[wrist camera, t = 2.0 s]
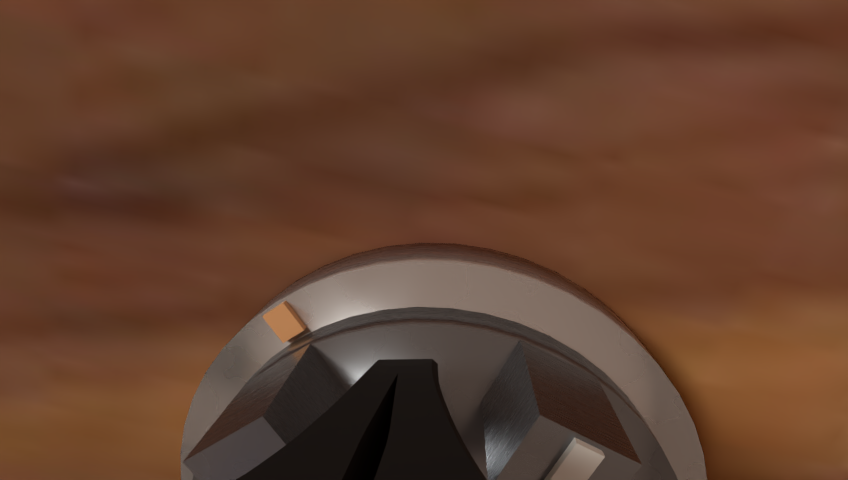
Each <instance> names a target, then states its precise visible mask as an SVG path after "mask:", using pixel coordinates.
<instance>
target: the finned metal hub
mask: <svg viewBox="0 0 848 480" xmlns="http://www.w3.org/2000/svg"><path fill="white" fill-rule="evenodd" d="M385 359H433V360H434V361H435V362H436V363H438V377H439V384H440V388H441V392H442V395H443V397H444V400H445V403H446V405H447V408H448V410H449V413H450V415H451V417H452V420H453V422H454V424H455V426H456V428H457V430H458V432H459V434H460V436H461V438H462V440H463V442H464V444H465V445H466V447H467V449H468V451H469V452H470V454H471V456H472V457H473V459H474V461H475V462H476V464H477V465H478V467H479V469H480V470H481V472H482V473H483V475H484V476H485V478H486V479H487V480H678V479H677V476H676V474H675V472H674V470H673V468H672V467H671V465H670V463H669V461H668V459H667V457H666V455H665V453H664V451H663V449H662V448H661V446H660V444H659V442H658V441H657V439H656V437H655V436H654V434H653V432H652V431H651V429H650V427H649V426H648V424H647V422H646V421H645V419H644V418H643V416H642V415H641V414H640V412H639V411H638V410H637V408H636V407H635V406H634V404H633V403H632V401H631V400H630V399H629V397H628V396H627V395H626V394H625V393H624V392H623V391H622V390H621V389H620V388H619V387H618V386H617V385H616V384H615V383H614V382H613V381H612V379H611V378H610V377H609V376H608V375H607V374H606V373H605V372H603V371H602V370H601V369H599V368H598V367H597V366H595V365H594V364H593V363H592V362H590V361H589V360H588V359H586V358H585V357H584V356H582V355H581V354H580V353H578V352H577V351H575V350H573V349H571V348H570V347H568V346H566V345H565V344H563V343H561V342H559V341H558V340H556V339H554V338H552V337H551V336H549V335H546V334H544V333H541V332H539V331H537V330H534V329H532V328H530V327H527V326H525V325H523V324H520V323H517V322H514V321H510V320H507V319H503V318H500V317H496V316H493V315H489V314H486V313H480V312H473V311H467V310H461V309H454V308H437V307H408V308H397V309H385V310H379V311H375V312H370V313H365V314H361V315H356V316H351V317H348V318H346V319H343V320H340V321H337V322H334V323H332V324H329V325H326V326H323V327H321V328H319V329H317V330H315V331H313V332H311V333H309V334H307V335H305V336H303V337H301V338H299V339H297V340H295V341H294V342H292V343H291V344H289V345H288V346H287V347H285V348H284V349H282V350H281V351H280V352H278V353H277V354H275V355H274V356H273V357H271V358H270V359H269V360H268V361H267V362H266V363H265V364H264V365H263V366H262V367H261V368H260V369H259V370H258V371H257V372H256V373H254V374H253V375H252V376H251V377H250V379H249V380H248V381H247V382H246V384H245V385H244V386H243V387H242V389H241V390H240V391H239V392H238V394H237V395H236V396H235V397H234V399H233V400H232V401H231V402H230V404H229V405H228V406H227V407H226V409H225V410H224V411H223V412H222V414H221V415H220V416H219V417H218V419H217V420H216V421H215V422H214V424H213V425H212V426H211V427H210V429H209V430H208V431H207V432H206V433H205V435H204V436H203V437H202V438H201V440H200V441H199V442H198V443H197V445H196V446H195V447H194V448H193V450H192V451H191V452H190V453H189V455H188V456H187V457H186V458H185V460H184V461H183V463H184V464H185V465H186V467H187V468H188V469H189V470H190V471H191V472H192V473H193V480H236V479H238V478H239V477H241V476H243V475H244V474H246V473H247V472H249V471H250V470H252V469H253V468H255V467H256V466H258V465H259V464H260V463H262V462H263V461H265V460H266V459H268V458H269V457H270V456H272V455H273V454H275V453H276V452H277V451H279V450H280V449H281V448H283V447H284V446H285V445H287V444H288V443H289V442H290V441H292V440H293V439H294V438H295V437H297V436H298V435H299V434H300V433H301V432H303V431H304V430H305V429H306V428H307V427H308V426H310V425H311V424H312V423H313V422H314V421H315V420H316V419H318V418H319V417H320V416H321V415H322V414H323V413H324V412H326V411H327V410H328V409H329V408H330V407H331V406H332V405H333V404H334V403H335V402H336V401H337V400H338V399H339V398H340V397H342V396H343V395H344V394H345V393H346V392H347V391H348V390H349V389H350V388H351V387H352V386H353V385H354V384H355V383H356V382H357V381H358V380H359V378H360V377H361V376H362V375H363V374H364V373H365V372H366V371H367V370H368V369H369V368H370V367H371V366H372V365H373V364H374V363H375V362H376V361H378V360H385Z"/></svg>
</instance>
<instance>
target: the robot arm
mask: <svg viewBox="0 0 848 480" xmlns="http://www.w3.org/2000/svg"><path fill="white" fill-rule="evenodd" d="M236 480H487V479H486V478H485V476H484V475H483V473H482V472H481V470H480V469H479V467H478V465H477V464H476V462H475V461H474V459H473V457H472V456H471V454H470V452H469V451H468V449H467V447H466V445H465V444H464V442H463V440H462V438H461V436H460V434H459V432H458V430H457V428H456V426H455V424H454V422H453V420H452V417H451V415H450V413H449V410H448V408H447V405H446V403H445V400H444V397H443V395H442V392H441V388H440V384H439V377H438V363H436V362H435V361H434V360H433V359H385V360H378V361H376V362H375V363H374V364H373V365H372V366H371V367H370V368H369V369H368V370H367V371H366V372H365V373H364V374H363V375H362V376H361V377H360V378H359V380H358V381H357V382H356V383H355V384H354V385H353V386H352V387H351V388H350V389H349V390H348V391H347V392H346V393H345V394H344V395H343V396H342V397H340V398H339V399H338V400H337V401H336V402H335V403H334V404H333V405H332V406H331V407H330V408H329V409H328V410H327V411H326V412H324V413H323V414H322V415H321V416H320V417H319V418H318V419H316V420H315V421H314V422H313V423H312V424H311V425H310V426H308V427H307V428H306V429H305V430H304V431H303V432H301V433H300V434H299V435H298V436H297V437H295V438H294V439H293V440H292V441H290V442H289V443H288V444H287V445H285V446H284V447H283V448H281V449H280V450H279V451H277V452H276V453H275V454H273V455H272V456H270V457H269V458H268V459H266V460H265V461H263V462H262V463H260V464H259V465H258V466H256V467H255V468H253V469H252V470H250V471H249V472H247V473H246V474H244V475H243V476H241V477H239V478H238V479H236Z"/></svg>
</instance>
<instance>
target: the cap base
mask: <svg viewBox="0 0 848 480" xmlns="http://www.w3.org/2000/svg"><path fill="white" fill-rule="evenodd" d="M408 307H437V308H454V309H461V310H467V311H473V312H480V313H486V314H489V315H493V316H496V317H500V318H503V319H507V320H510V321H514V322H517V323H520V324H523V325H525V326H527V327H530V328H532V329H534V330H537V331H539V332H541V333H544V334H546V335H549V336H551V337H552V338H554V339H556V340H558V341H559V342H561V343H563V344H565V345H566V346H568V347H570V348H571V349H573V350H575V351H577V352H578V353H580V354H581V355H582V356H584V357H585V358H586V359H588V360H589V361H590V362H592V363H593V364H594V365H595V366H597V367H598V368H599V369H601V370H602V371H603V372H605V373H606V374H607V375H608V376H609V377H610V378H611V379H612V381H613V382H614V383H615V384H616V385H617V386H618V387H619V388H620V389H621V390H622V391H623V392H624V393H625V394H626V395H627V396H628V397H629V399H630V400H631V401H632V403H633V404H634V406H635V407H636V408H637V410H638V411H639V412H640V414H641V415H642V416H643V418H644V419H645V421H646V422H647V424H648V426H649V427H650V429H651V431H652V432H653V434H654V436H655V437H656V439H657V441H658V442H659V444H660V446H661V448H662V449H663V451H664V453H665V455H666V457H667V459H668V461H669V463H670V465H671V467H672V468H673V470H674V472H675V474H676V476H677V479H678V480H707V475H706V468H705V460H704V454H703V451H702V447H701V444H700V441H699V438H698V434H697V431H696V428H695V425H694V423H693V421H692V418H691V416H690V414H689V412H688V410H687V408H686V406H685V404H684V402H683V400H682V398H681V396H680V394H679V393H678V392H677V390H676V389H675V387H674V386H673V384H672V383H671V382H670V380H669V379H668V377H667V376H666V375H665V373H664V372H663V370H662V369H661V368H660V366H659V365H658V364H657V362H656V361H655V360H654V358H653V357H652V356H651V355H650V353H649V352H648V351H647V350H646V348H645V347H644V346H643V344H642V343H641V342H640V341H639V339H638V338H637V337H636V335H635V334H634V333H633V332H632V331H631V330H630V329H629V328H628V327H627V326H626V325H625V324H624V323H623V322H622V320H621V319H620V318H619V317H618V316H617V315H616V314H615V313H614V312H613V311H612V310H611V309H610V308H608V307H607V306H606V305H604V304H603V303H602V302H601V301H599V300H598V299H597V298H596V297H594V296H593V295H592V294H591V293H589V292H588V291H587V290H585V289H584V288H582V287H580V286H579V285H577V284H575V283H574V282H572V281H570V280H569V279H567V278H565V277H563V276H562V275H560V274H558V273H557V272H555V271H552V270H550V269H547V268H545V267H543V266H540V265H538V264H536V263H533V262H531V261H529V260H526V259H524V258H520V257H517V256H513V255H510V254H506V253H503V252H499V251H496V250H492V249H487V248H480V247H474V246H467V245H461V244H445V243H415V244H406V245H396V246H387V247H382V248H378V249H374V250H370V251H365V252H361V253H357V254H353V255H351V256H348V257H345V258H343V259H340V260H338V261H335V262H332V263H330V264H327V265H324V266H323V267H321V268H319V269H317V270H315V271H313V272H312V273H310V274H308V275H306V276H304V277H302V278H301V279H299V280H297V281H296V282H294V283H293V284H292V285H290V286H289V287H288V288H286V289H285V290H284V291H282V292H281V293H280V294H278V295H277V296H276V297H274V298H273V299H272V300H271V301H270V302H269V303H268V304H267V305H266V306H265V307H264V308H263V309H262V310H261V311H260V312H259V313H258V314H257V315H256V316H255V317H254V318H252V319H251V320H250V321H249V322H248V323H247V324H246V325H245V326H244V327H243V328H242V329H241V330H240V331H239V332H238V333H237V334H236V335H235V336H234V337H233V339H232V340H231V341H230V342H229V343H228V344H227V345H226V346H225V347H224V348H223V349H222V351H221V352H220V353H219V355H218V356H217V358H216V359H215V360H214V362H213V363H212V364H211V366H210V367H209V369H208V370H207V371H206V373H205V375H204V377H203V379H202V381H201V383H200V385H199V387H198V389H197V391H196V393H195V395H194V397H193V400H192V403H191V406H190V409H189V413H188V416H187V419H186V422H185V426H184V433H183V440H182V447H181V480H193V473H192V472H191V471H190V470H189V469H188V468H187V467H186V465H185V464H184V463H183V461H184V460H185V458H186V457H187V456H188V455H189V453H190V452H191V451H192V450H193V448H194V447H195V446H196V445H197V443H198V442H199V441H200V440H201V438H202V437H203V436H204V435H205V433H206V432H207V431H208V430H209V429H210V427H211V426H212V425H213V424H214V422H215V421H216V420H217V419H218V417H219V416H220V415H221V414H222V412H223V411H224V410H225V409H226V407H227V406H228V405H229V404H230V402H231V401H232V400H233V399H234V397H235V396H236V395H237V394H238V392H239V391H240V390H241V389H242V387H243V386H244V385H245V384H246V382H247V381H248V380H249V379H250V377H251V376H252V375H253V374H254V373H256V372H257V371H258V370H259V369H260V368H261V367H262V366H263V365H264V364H265V363H266V362H267V361H268V360H269V359H270V358H271V357H273V356H274V355H275V354H277V353H278V352H280V351H281V350H282V349H284V348H285V347H287V346H288V345H289V344H291V343H292V342H294V341H295V340H297V339H299V338H301V337H303V336H305V335H307V334H309V333H311V332H313V331H315V330H317V329H319V328H321V327H323V326H326V325H329V324H332V323H334V322H337V321H340V320H343V319H346V318H348V317H351V316H356V315H361V314H365V313H370V312H375V311H379V310H385V309H397V308H408Z"/></svg>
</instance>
